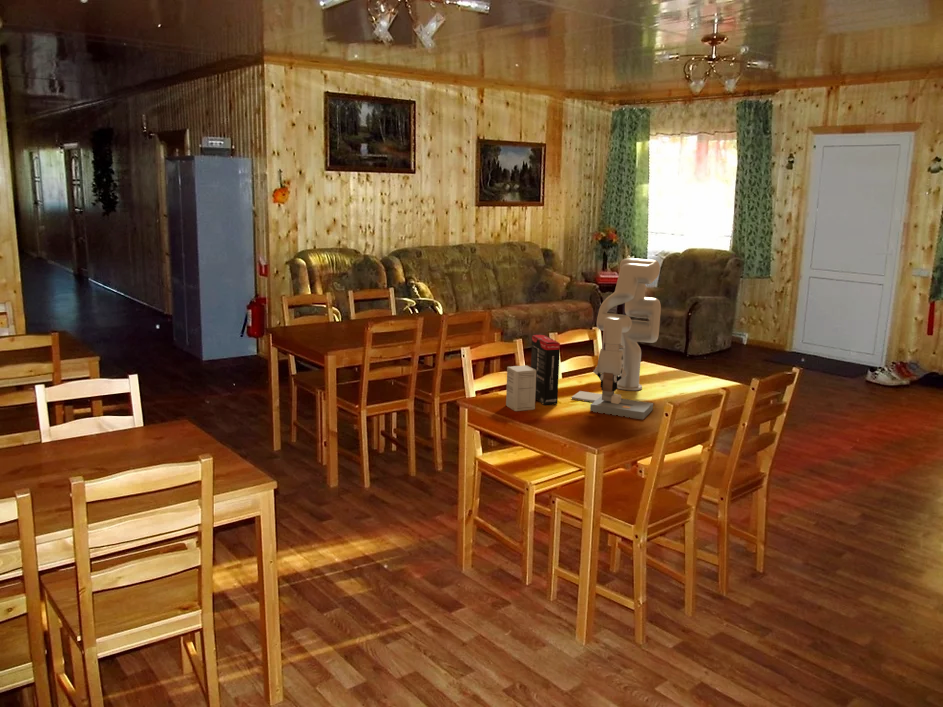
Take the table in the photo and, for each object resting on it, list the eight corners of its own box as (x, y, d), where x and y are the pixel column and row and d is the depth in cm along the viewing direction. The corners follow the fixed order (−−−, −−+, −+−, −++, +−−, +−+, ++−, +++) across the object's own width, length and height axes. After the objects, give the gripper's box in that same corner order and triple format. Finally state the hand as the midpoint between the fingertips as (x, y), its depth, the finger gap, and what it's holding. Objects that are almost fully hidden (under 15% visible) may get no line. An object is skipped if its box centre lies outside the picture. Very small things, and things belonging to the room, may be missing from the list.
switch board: (601, 402, 344) (602, 395, 344) (652, 410, 335) (653, 402, 334) (590, 411, 330) (590, 404, 329) (643, 419, 321) (643, 412, 320)
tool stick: (604, 398, 337) (606, 365, 334) (613, 399, 335) (616, 366, 332) (601, 400, 333) (603, 367, 330) (611, 401, 332) (613, 368, 329)
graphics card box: (558, 405, 338) (561, 341, 332) (543, 406, 336) (546, 342, 330) (542, 394, 354) (545, 334, 348) (528, 395, 352) (531, 334, 346)
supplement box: (525, 403, 339) (527, 364, 335) (535, 409, 330) (537, 369, 327) (505, 405, 335) (506, 366, 331) (514, 411, 327) (516, 371, 323)
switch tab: (613, 400, 335) (614, 393, 335) (620, 401, 334) (621, 394, 334) (611, 403, 332) (611, 395, 331) (618, 404, 331) (618, 397, 330)
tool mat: (579, 393, 359) (580, 391, 358) (606, 396, 353) (606, 394, 353) (571, 399, 348) (571, 397, 348) (597, 403, 343) (598, 401, 343)
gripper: (633, 347, 329) (630, 391, 333) (594, 343, 337) (592, 385, 340) (629, 351, 323) (625, 395, 327) (589, 346, 330) (586, 389, 334)
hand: (608, 389), depth 333 cm, fingers closed on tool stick, 4 cm apart
